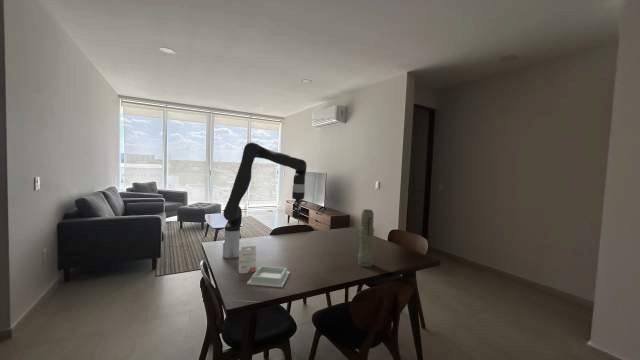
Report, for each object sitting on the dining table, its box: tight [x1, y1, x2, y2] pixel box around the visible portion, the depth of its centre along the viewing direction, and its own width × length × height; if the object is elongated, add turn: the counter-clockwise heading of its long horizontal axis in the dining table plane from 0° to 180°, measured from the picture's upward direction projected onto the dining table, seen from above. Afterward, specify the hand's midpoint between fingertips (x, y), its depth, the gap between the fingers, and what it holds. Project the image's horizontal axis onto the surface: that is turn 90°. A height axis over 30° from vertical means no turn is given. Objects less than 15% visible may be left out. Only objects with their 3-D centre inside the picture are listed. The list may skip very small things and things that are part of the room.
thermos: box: [357, 208, 375, 268], centre depth 167 cm, size 9×12×35 cm
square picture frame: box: [246, 265, 291, 288], centre depth 140 cm, size 18×18×4 cm
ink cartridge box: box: [238, 245, 257, 274], centre depth 148 cm, size 9×5×15 cm, turn 117°
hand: (297, 217), depth 164 cm, fingers open, 8 cm apart
